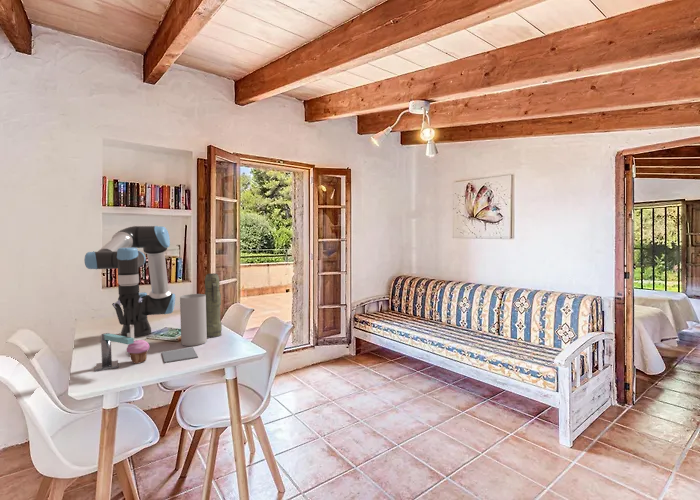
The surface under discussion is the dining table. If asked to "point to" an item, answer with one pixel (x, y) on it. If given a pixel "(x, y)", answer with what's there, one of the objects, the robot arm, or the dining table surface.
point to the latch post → (106, 357)
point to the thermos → (213, 305)
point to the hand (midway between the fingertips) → (130, 339)
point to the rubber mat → (179, 355)
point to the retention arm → (117, 338)
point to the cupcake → (138, 351)
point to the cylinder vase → (193, 319)
